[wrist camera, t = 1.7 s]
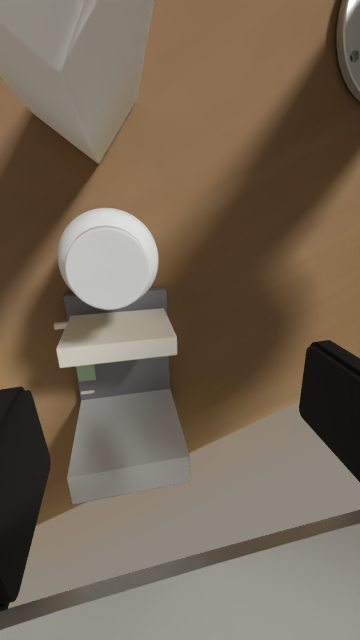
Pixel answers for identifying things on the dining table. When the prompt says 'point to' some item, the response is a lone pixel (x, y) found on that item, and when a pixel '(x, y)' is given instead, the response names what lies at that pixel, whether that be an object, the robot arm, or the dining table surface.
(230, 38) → the dining table surface
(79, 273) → the supplement bottle
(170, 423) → the grey l-shaped piece
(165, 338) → the cream flat slab
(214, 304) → the dining table surface
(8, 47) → the milk
